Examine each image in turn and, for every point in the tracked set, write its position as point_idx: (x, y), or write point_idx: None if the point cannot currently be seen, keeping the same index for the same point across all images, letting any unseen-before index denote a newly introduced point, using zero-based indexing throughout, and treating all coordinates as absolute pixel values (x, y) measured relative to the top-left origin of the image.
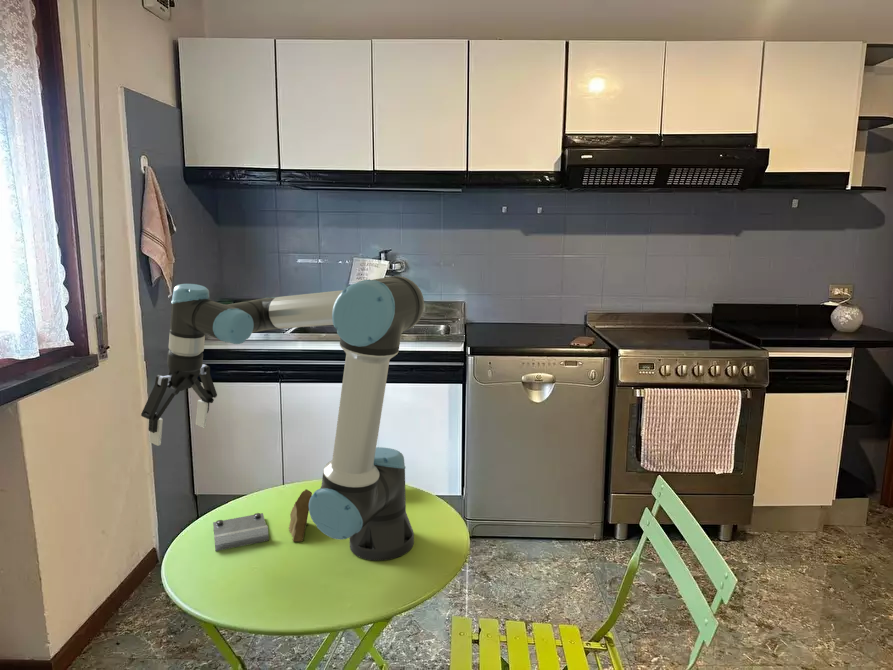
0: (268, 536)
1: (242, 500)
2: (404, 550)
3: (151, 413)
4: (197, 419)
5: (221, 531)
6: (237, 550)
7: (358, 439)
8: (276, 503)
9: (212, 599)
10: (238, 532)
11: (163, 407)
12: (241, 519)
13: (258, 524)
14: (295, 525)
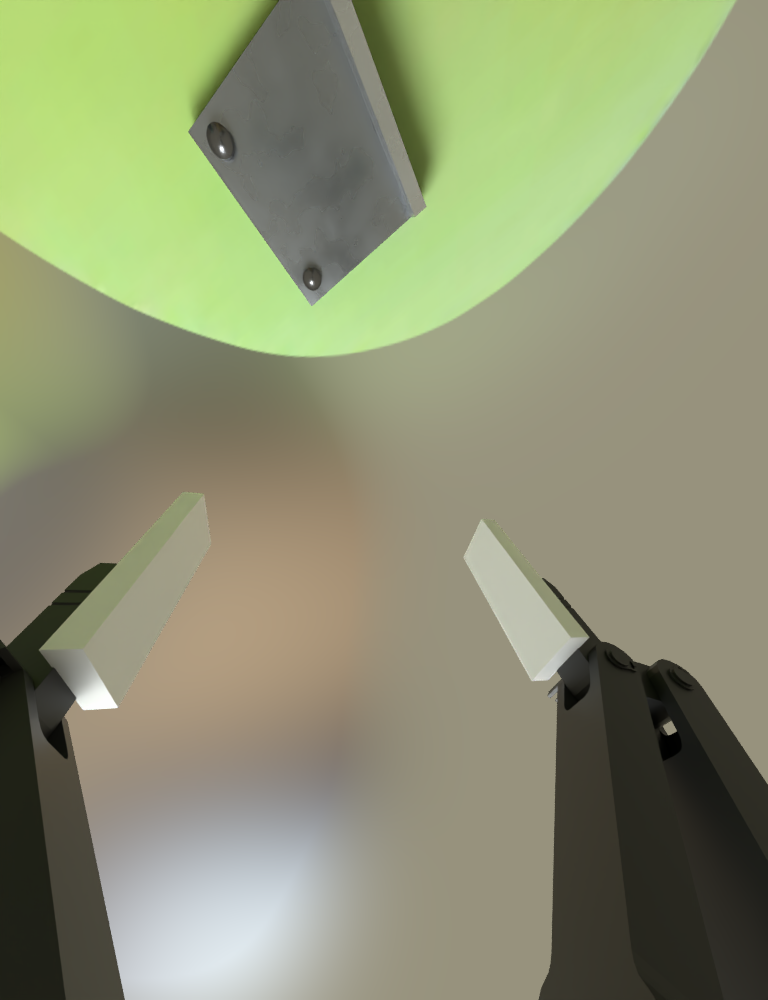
0: None
1: (154, 313)
2: None
3: (716, 715)
4: (195, 559)
5: (348, 240)
6: (406, 112)
7: None
8: (74, 145)
9: (679, 3)
10: (389, 106)
11: (644, 750)
12: (265, 211)
13: (267, 89)
14: None
